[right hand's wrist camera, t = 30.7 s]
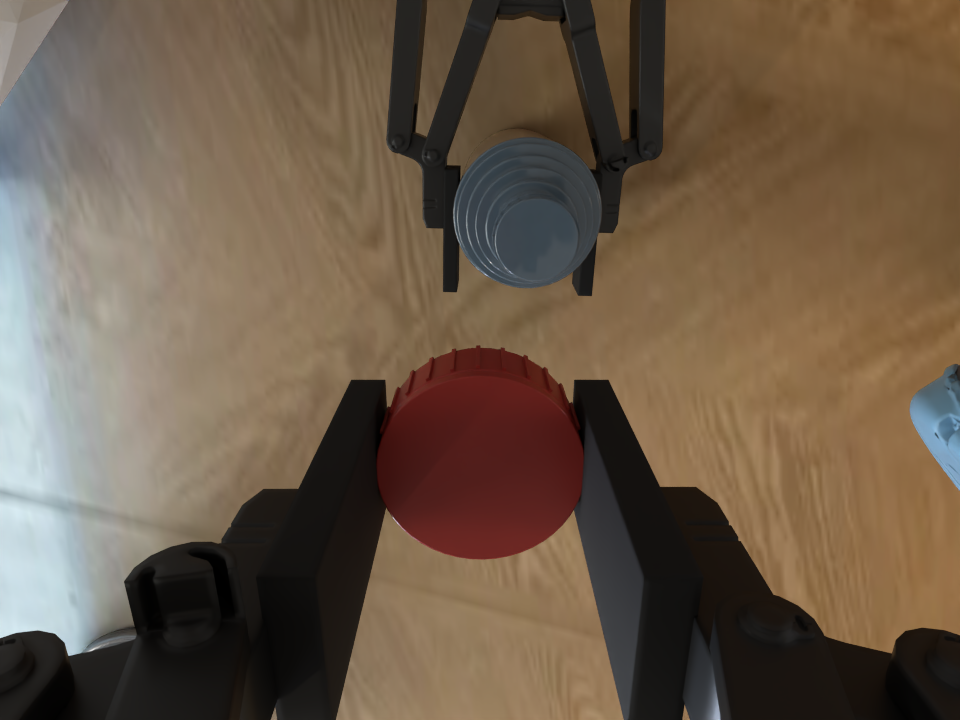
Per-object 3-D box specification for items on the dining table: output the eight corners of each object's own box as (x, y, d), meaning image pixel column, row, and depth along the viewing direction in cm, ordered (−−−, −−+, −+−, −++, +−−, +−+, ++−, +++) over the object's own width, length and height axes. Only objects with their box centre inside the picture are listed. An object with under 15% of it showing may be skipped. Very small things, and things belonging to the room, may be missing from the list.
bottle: (537, 253, 43) (572, 355, 25) (445, 208, 42) (415, 280, 24) (587, 159, 41) (663, 198, 23) (492, 108, 40) (496, 109, 22)
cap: (579, 341, 14) (592, 370, 12) (574, 514, 15) (584, 560, 14) (377, 346, 14) (363, 375, 12) (391, 519, 15) (382, 564, 14)
